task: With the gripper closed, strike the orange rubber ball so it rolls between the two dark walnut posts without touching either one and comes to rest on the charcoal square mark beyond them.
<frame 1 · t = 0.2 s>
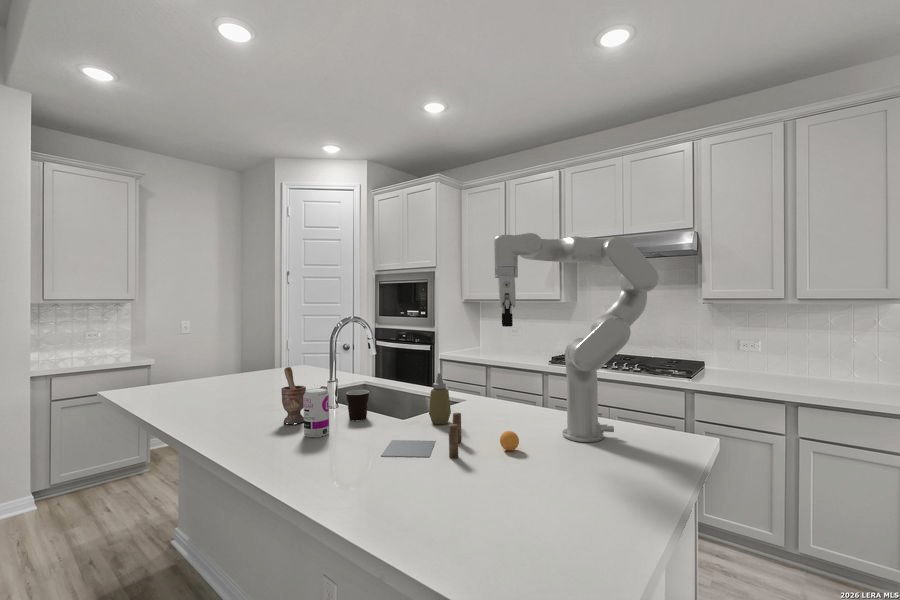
hand: (507, 325, 142), 36 cm above the counter, tool pointing down, fingers open, 9 cm apart
squeeze bottle: (440, 423, 159), on the counter
supplement can: (316, 435, 146), on the counter
post 1: (453, 456, 124), on the counter
post 2: (457, 442, 136), on the counter
mortar and pestle: (291, 422, 163), on the counter
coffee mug: (359, 417, 168), on the counter
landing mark: (409, 448, 131), on the counter
ball: (509, 440, 128), on the counter
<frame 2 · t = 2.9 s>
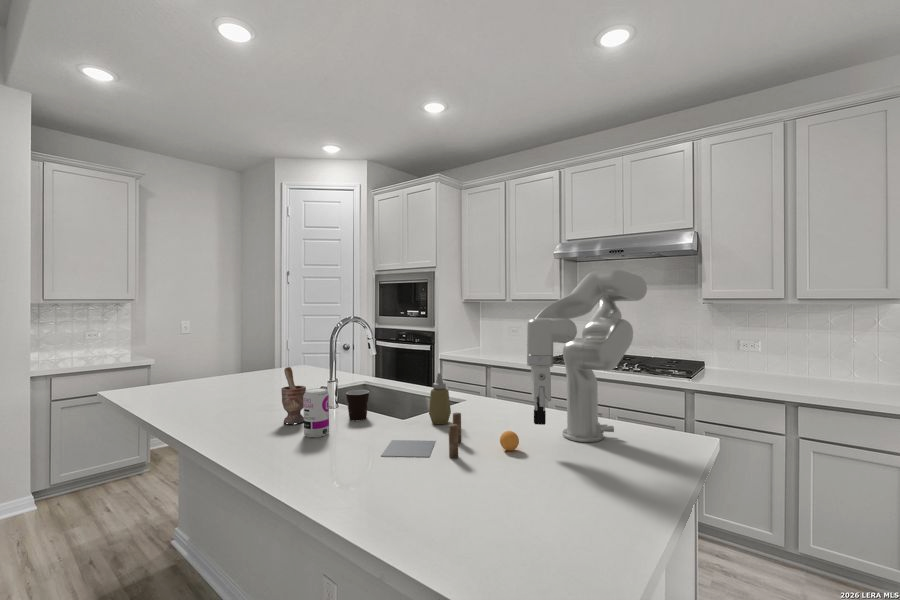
hand: (539, 423, 127), 8 cm above the counter, tool pointing down, fingers closed
nothing on the counter moved.
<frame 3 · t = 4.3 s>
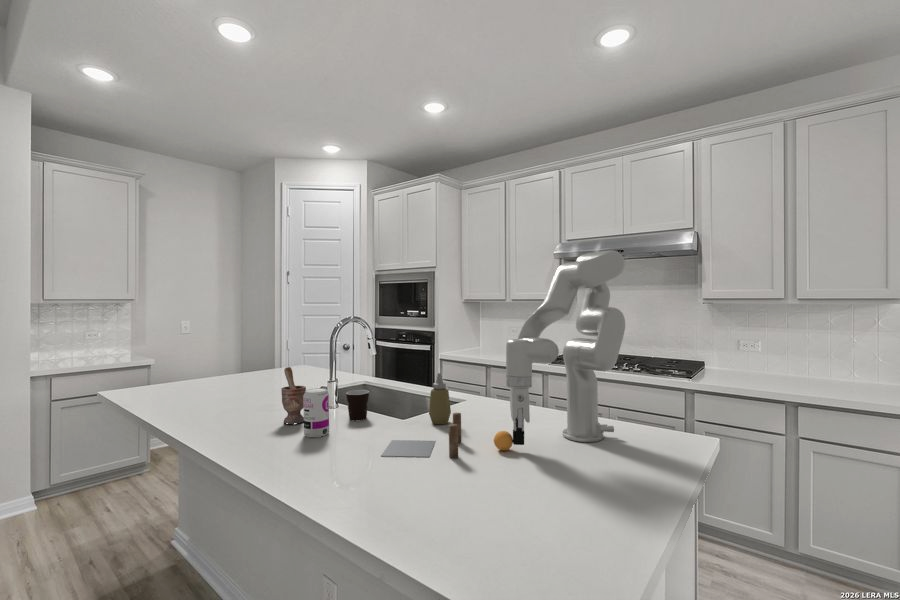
hand: (518, 443, 128), 2 cm above the counter, tool pointing down, fingers closed
ball: (503, 440, 129), on the counter
everything else where it was.
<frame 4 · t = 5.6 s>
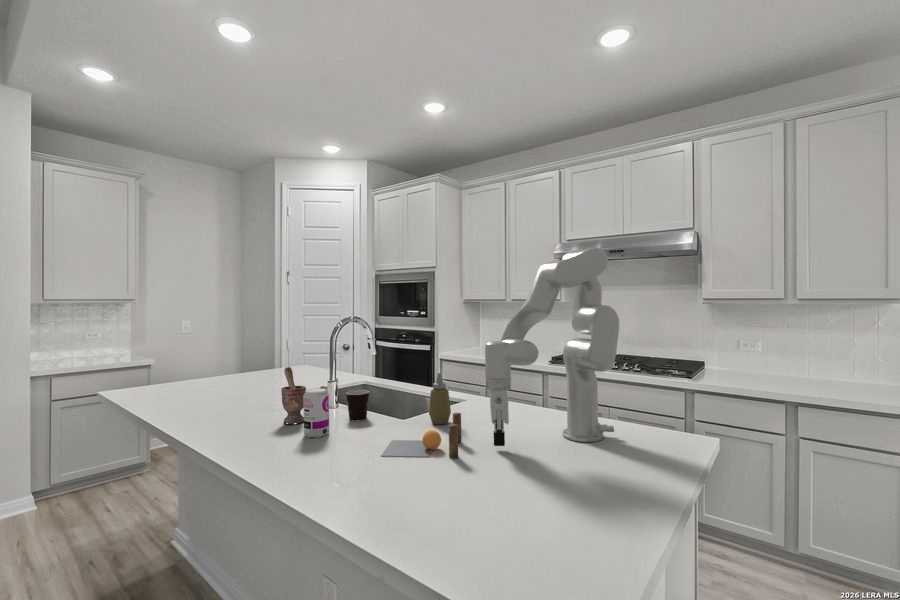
hand: (499, 444, 129), 2 cm above the counter, tool pointing down, fingers closed
ball: (431, 439, 130), on the counter
everything else where it was.
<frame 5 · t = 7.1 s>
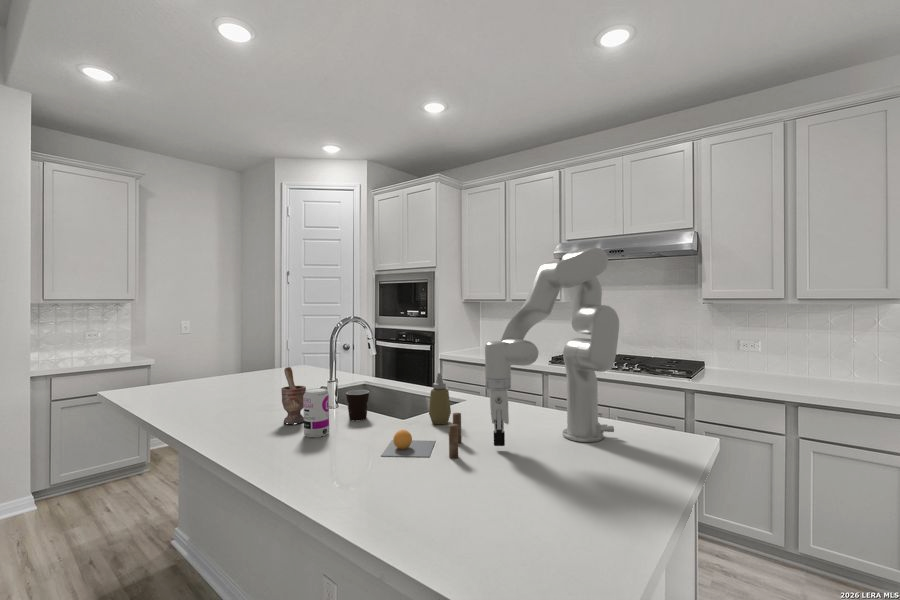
hand: (499, 444, 129), 2 cm above the counter, tool pointing down, fingers closed
ball: (402, 439, 131), on the counter
everything else where it was.
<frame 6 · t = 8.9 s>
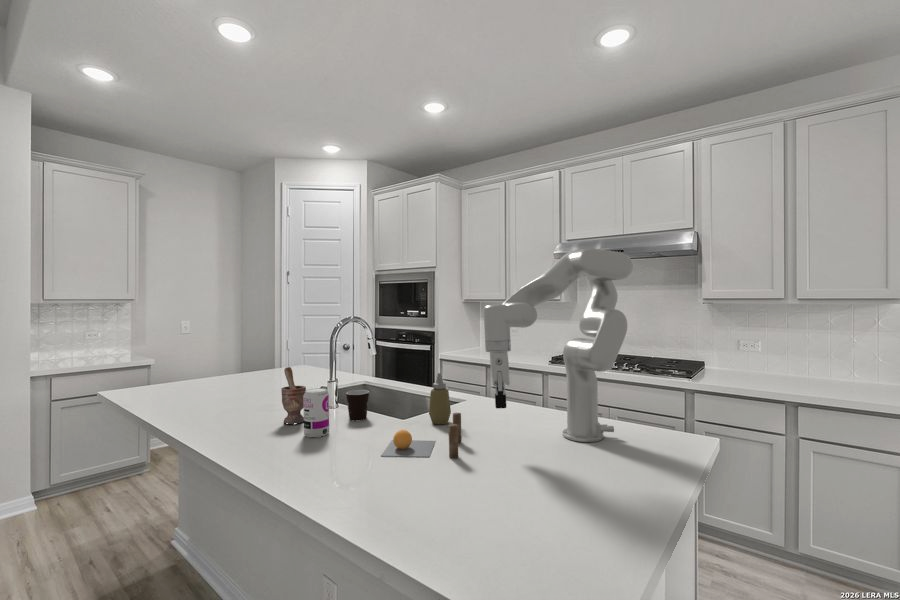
hand: (500, 407, 129), 13 cm above the counter, tool pointing down, fingers closed
nothing on the counter moved.
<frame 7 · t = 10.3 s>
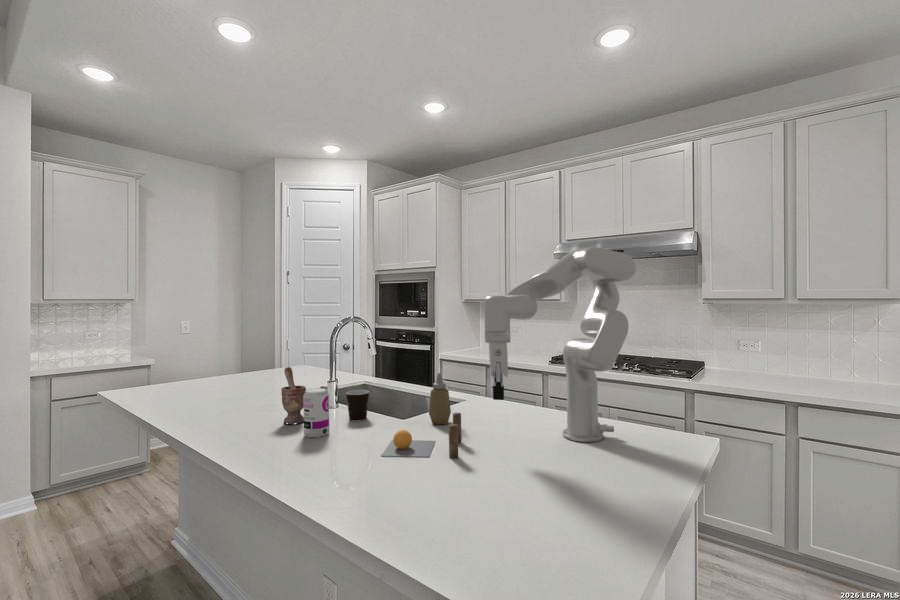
hand: (498, 399, 129), 15 cm above the counter, tool pointing down, fingers closed
nothing on the counter moved.
at the end: ball 2.0 cm from the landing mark (horizontally); ball never touched post 1; ball never touched post 2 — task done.
